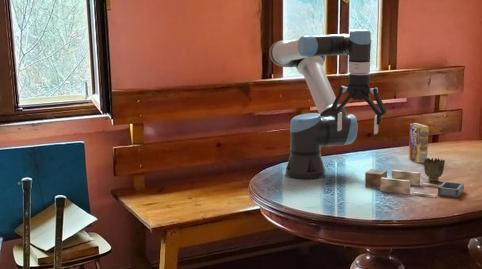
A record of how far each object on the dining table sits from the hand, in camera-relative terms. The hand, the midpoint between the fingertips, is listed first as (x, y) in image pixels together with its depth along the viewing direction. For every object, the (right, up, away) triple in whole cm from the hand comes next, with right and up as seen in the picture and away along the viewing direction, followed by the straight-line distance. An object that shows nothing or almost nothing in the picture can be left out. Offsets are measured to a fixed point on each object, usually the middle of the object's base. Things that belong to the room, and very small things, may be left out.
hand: (357, 131), depth 227 cm
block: (+6, -19, -1) cm, 20 cm away
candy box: (+32, -12, +34) cm, 48 cm away
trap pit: (+29, -21, -14) cm, 39 cm away
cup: (+28, -18, +2) cm, 34 cm away
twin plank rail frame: (+18, -20, -8) cm, 28 cm away
